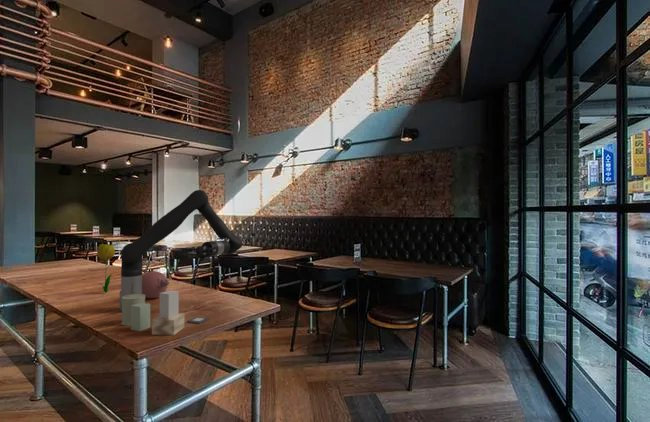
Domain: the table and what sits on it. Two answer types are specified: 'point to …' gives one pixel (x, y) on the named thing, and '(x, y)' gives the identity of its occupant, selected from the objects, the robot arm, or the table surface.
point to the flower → (106, 254)
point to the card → (198, 320)
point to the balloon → (153, 284)
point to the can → (126, 306)
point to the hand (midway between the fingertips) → (189, 251)
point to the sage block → (140, 316)
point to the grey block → (169, 304)
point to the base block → (167, 325)
